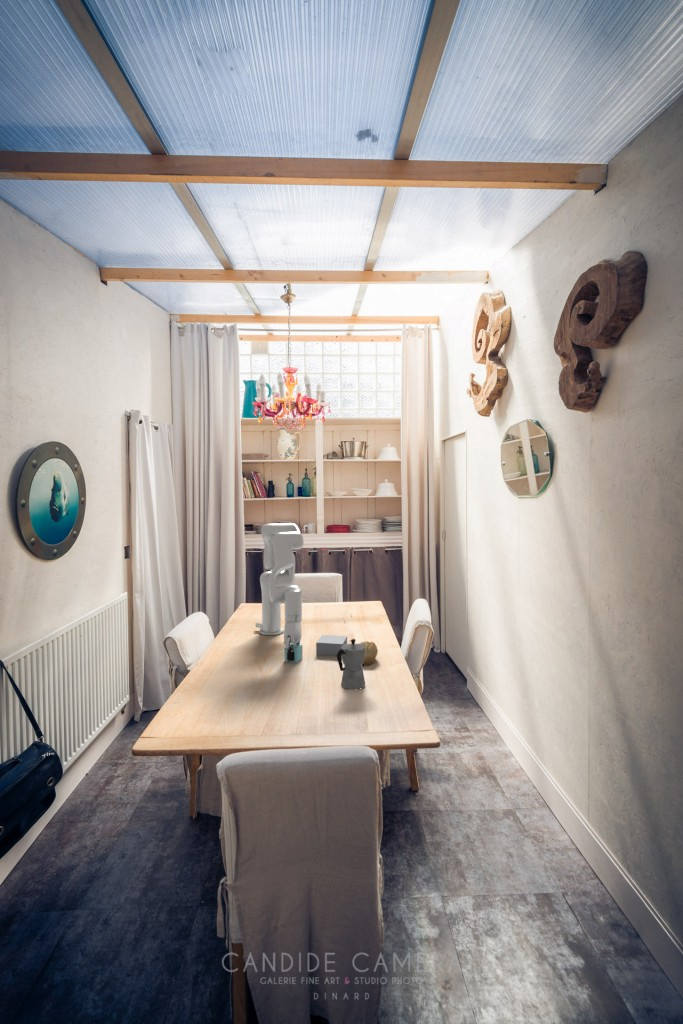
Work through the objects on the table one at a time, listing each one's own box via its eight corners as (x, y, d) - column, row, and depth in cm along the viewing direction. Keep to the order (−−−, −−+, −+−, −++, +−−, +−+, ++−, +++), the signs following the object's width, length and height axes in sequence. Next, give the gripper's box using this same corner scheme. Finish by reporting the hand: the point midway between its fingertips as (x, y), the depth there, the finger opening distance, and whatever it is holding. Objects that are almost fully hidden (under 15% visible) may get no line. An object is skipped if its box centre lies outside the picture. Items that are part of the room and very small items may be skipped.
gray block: (316, 655, 239) (316, 642, 238) (322, 647, 251) (322, 634, 250) (342, 657, 237) (342, 644, 236) (347, 648, 248) (347, 636, 248)
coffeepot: (355, 677, 212) (355, 633, 210) (373, 683, 205) (373, 638, 204) (328, 688, 200) (328, 641, 199) (346, 695, 194) (346, 647, 193)
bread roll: (377, 655, 239) (377, 637, 239) (377, 666, 224) (377, 648, 224) (356, 654, 240) (356, 637, 239) (354, 666, 225) (354, 647, 224)
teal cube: (284, 661, 231) (284, 647, 230) (289, 656, 236) (289, 643, 236) (297, 662, 229) (297, 648, 229) (302, 658, 235) (302, 644, 234)
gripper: (292, 612, 241) (292, 651, 242) (277, 621, 224) (277, 663, 225) (308, 613, 239) (308, 652, 240) (294, 623, 222) (294, 665, 223)
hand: (293, 657), depth 233 cm, fingers closed on teal cube, 6 cm apart
